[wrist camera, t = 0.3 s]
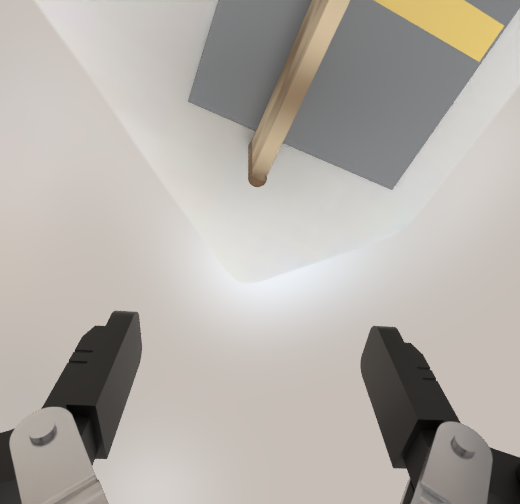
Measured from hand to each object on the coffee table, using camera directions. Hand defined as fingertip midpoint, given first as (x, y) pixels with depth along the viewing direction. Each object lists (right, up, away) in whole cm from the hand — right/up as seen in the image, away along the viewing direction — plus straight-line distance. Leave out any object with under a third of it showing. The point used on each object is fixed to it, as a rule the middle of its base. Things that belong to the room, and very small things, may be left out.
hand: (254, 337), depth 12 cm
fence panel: (+2, +15, +13) cm, 20 cm away
